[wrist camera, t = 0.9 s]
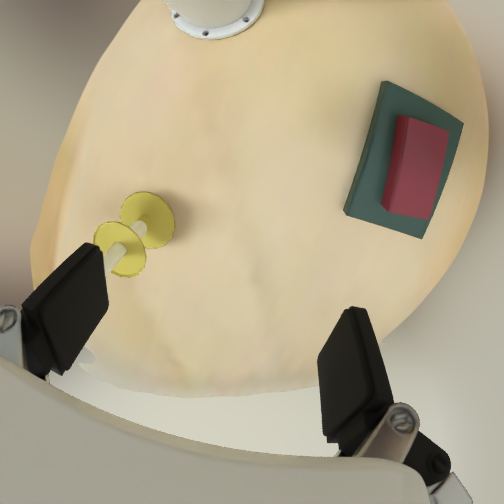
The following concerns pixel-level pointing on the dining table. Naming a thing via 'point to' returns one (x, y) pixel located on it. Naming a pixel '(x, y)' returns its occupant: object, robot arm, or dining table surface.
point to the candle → (134, 234)
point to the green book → (379, 154)
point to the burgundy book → (414, 168)
